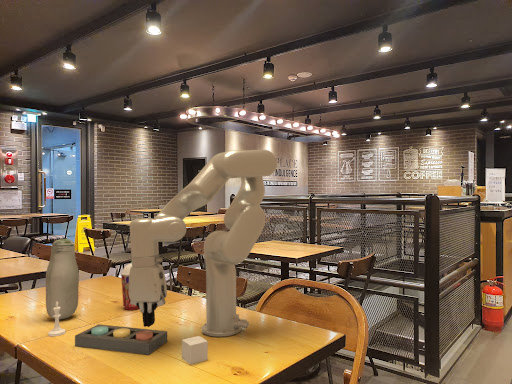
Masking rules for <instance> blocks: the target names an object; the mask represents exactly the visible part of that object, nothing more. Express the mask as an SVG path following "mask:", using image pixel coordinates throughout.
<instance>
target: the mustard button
mask: <svg viewBox="0 0 512 384" xmlns="http://www.w3.org/2000/svg"><path fill="white" fill-rule="evenodd" d="M129 335H130V329H127V328H122V329H117V330H115V331H114V332H113V337H119V338H125V337H127V336H129Z"/></svg>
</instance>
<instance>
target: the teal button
mask: <svg viewBox="0 0 512 384" xmlns="http://www.w3.org/2000/svg"><path fill="white" fill-rule="evenodd" d="M106 333H108V327H107V326H99V327H95V328H93V329H92V330H91V334H92V335H101V336H102V335H104V334H106Z"/></svg>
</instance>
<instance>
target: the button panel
mask: <svg viewBox="0 0 512 384" xmlns="http://www.w3.org/2000/svg"><path fill="white" fill-rule="evenodd" d="M99 326H107V327H108V333H106V334H104V335H102V336H101V335H92V334H91V330H92V329H93V328H95V327H99ZM122 328H127V329H130V335H129V336H127V337H125V338H119V337H113V332H114V331H115V330H117V329H122ZM140 331H152V332H153V338H151V339H150V340H148V341H146V340H137V339H136V333H138V332H140ZM167 342H168V331H167V330H159V329H158V330H157V329H148V328H138V327H129V326H120V325H119V326H118V325H109V324H101V323H100V324H99V323H98V324H96V325H94V326H92V327H90V328H87V329H85V330H83V331H81V332H79V333H77V334H75V335H74V346H75V347H78V348H86V349H95V350H102V351H104V350H105V351H112V352H113V351H114V352H121V353H128V354H138V355H146V356H150V355H151V354H153V352H155V351H157V350H158V349H159V348H160V347H162V346H164V345H165V344H167Z"/></svg>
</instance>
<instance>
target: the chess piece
mask: <svg viewBox="0 0 512 384" xmlns="http://www.w3.org/2000/svg"><path fill="white" fill-rule="evenodd" d="M53 309H54V312H55V315H53V317H55V319H54V324H53V325H54V326H53V328H52V329H51V330H49V331H48V332H47V333H48V334H47V335H48V336H49V337H58V336H62V335H65V334H66V329H65V328H62V327H61V326H60V319H59V316H61V314H59V311H60V307H58V301H56V307H55V308H53Z"/></svg>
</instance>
